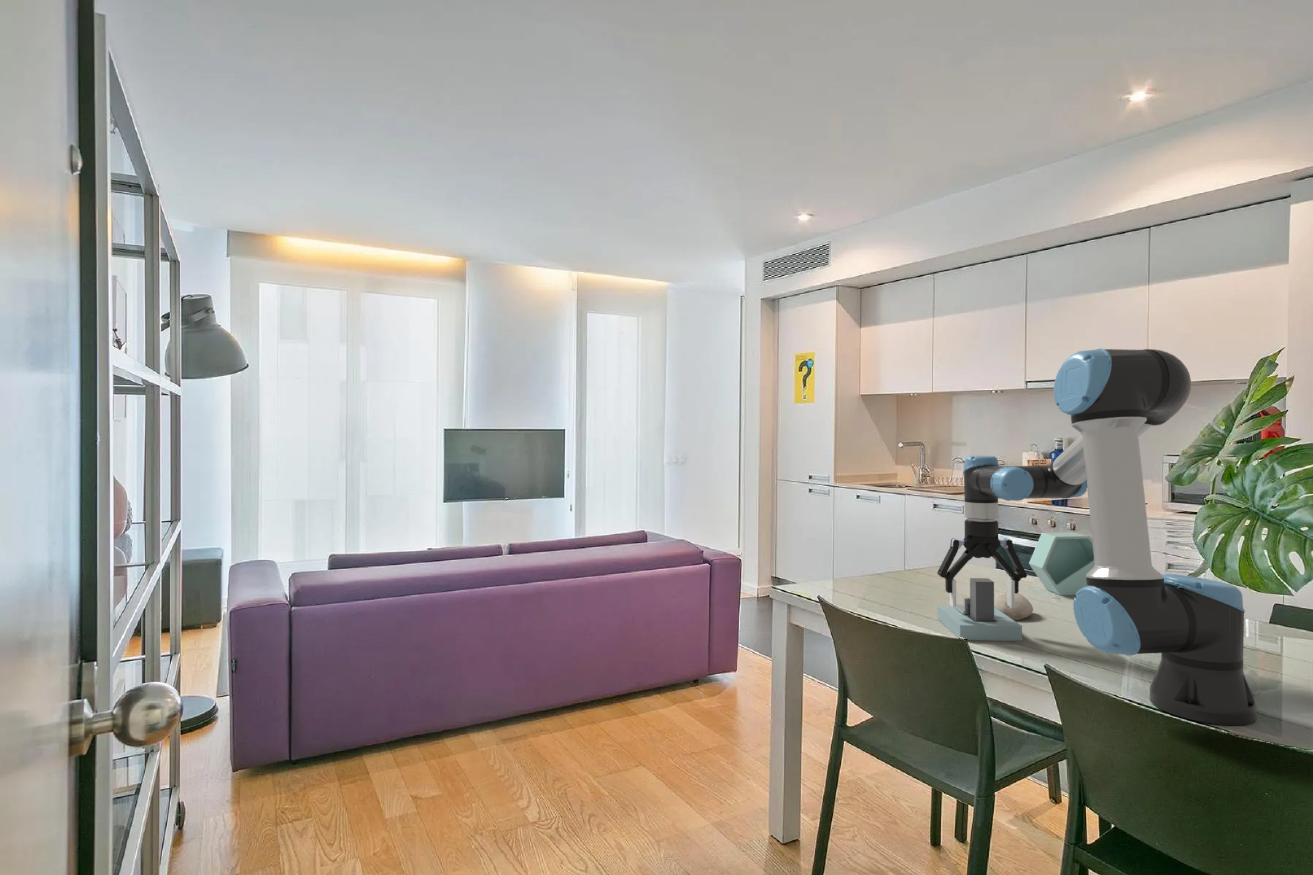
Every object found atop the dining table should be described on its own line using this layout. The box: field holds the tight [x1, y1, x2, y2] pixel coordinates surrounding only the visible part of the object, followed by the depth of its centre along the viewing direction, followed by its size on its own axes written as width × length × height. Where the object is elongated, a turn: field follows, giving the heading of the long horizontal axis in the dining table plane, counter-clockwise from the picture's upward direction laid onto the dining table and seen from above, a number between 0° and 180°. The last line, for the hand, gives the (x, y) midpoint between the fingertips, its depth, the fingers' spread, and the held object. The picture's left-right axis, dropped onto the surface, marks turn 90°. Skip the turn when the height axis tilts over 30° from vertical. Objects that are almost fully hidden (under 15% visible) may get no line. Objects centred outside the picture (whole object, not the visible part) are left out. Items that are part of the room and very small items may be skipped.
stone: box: [994, 591, 1034, 621], centre depth 192 cm, size 13×10×8 cm
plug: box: [969, 577, 995, 622], centre depth 175 cm, size 4×4×13 cm
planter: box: [1028, 531, 1095, 596], centre depth 216 cm, size 17×8×21 cm
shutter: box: [955, 597, 970, 614], centre depth 182 cm, size 7×7×4 cm
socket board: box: [937, 605, 1023, 642], centre depth 178 cm, size 18×14×4 cm
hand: (981, 606), depth 175 cm, fingers open, 13 cm apart
